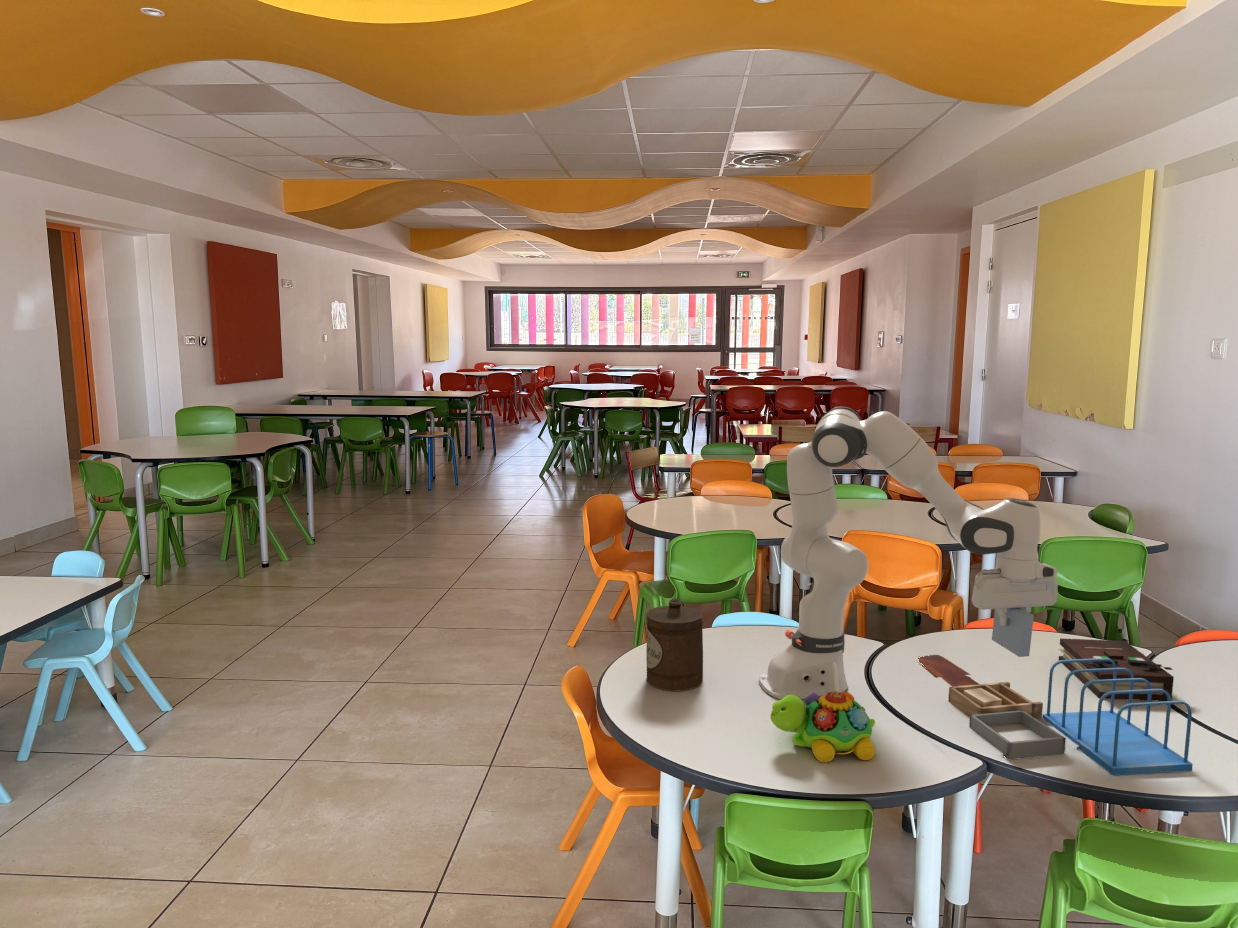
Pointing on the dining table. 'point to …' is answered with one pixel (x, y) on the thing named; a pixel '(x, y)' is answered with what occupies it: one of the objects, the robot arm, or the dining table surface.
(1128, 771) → the file sorter
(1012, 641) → the grey square block
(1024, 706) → the divided wooden box
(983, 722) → the tray
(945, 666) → the wooden tablet
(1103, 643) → the decorative book
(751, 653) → the dining table surface
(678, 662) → the wooden container
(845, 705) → the turtle toy
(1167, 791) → the dining table surface
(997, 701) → the offcut slab upper
